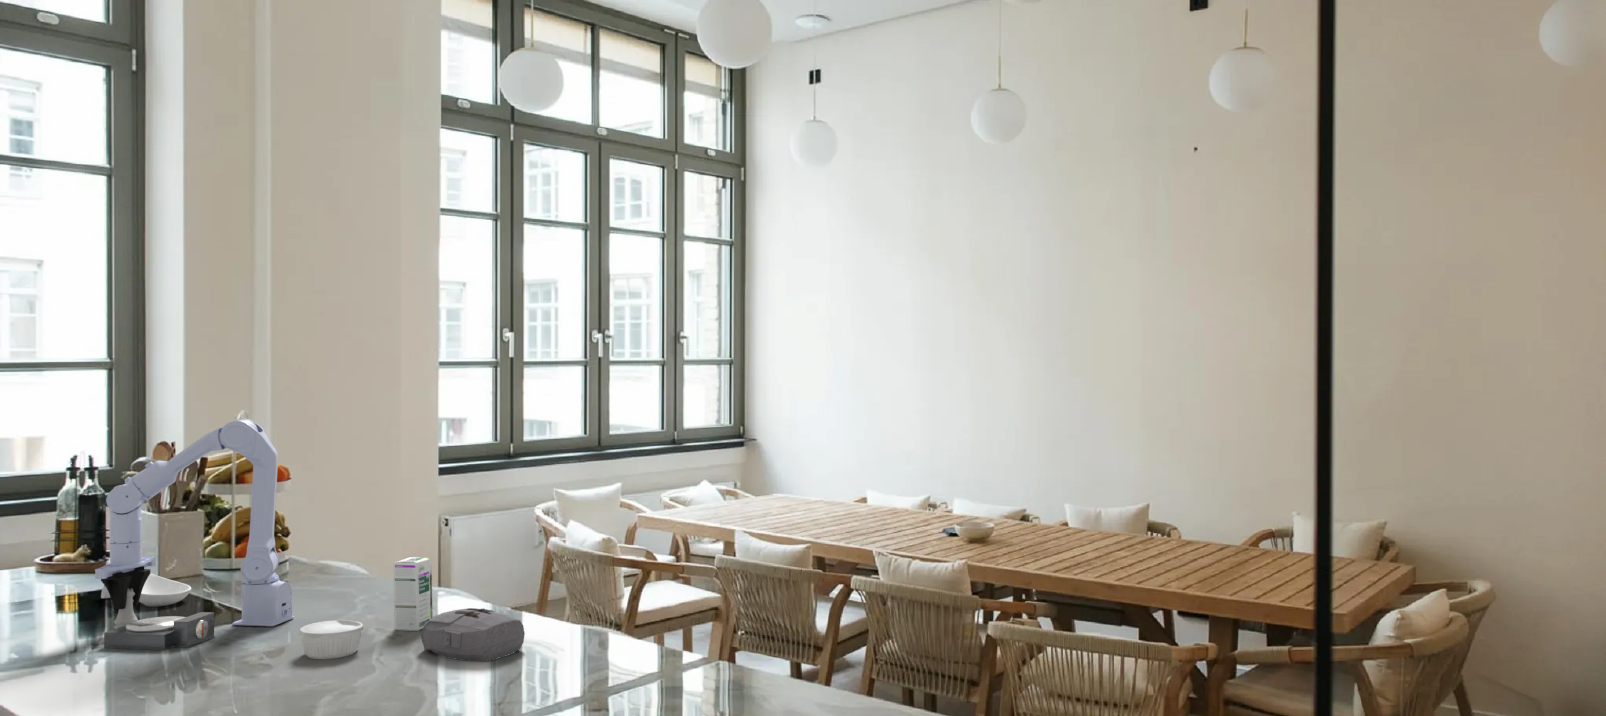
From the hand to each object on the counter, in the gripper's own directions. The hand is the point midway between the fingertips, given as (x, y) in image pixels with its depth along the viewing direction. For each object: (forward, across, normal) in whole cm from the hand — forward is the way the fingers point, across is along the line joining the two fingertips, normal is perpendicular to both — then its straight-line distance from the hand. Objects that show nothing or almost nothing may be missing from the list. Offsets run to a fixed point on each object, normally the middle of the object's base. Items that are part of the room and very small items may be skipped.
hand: (126, 606), depth 229 cm
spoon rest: (+6, -26, -17) cm, 31 cm away
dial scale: (+5, +6, +14) cm, 16 cm away
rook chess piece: (+5, 0, 0) cm, 5 cm away
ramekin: (+6, +10, +52) cm, 53 cm away
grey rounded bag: (+6, +5, +78) cm, 78 cm away
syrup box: (+6, -11, +58) cm, 59 cm away
